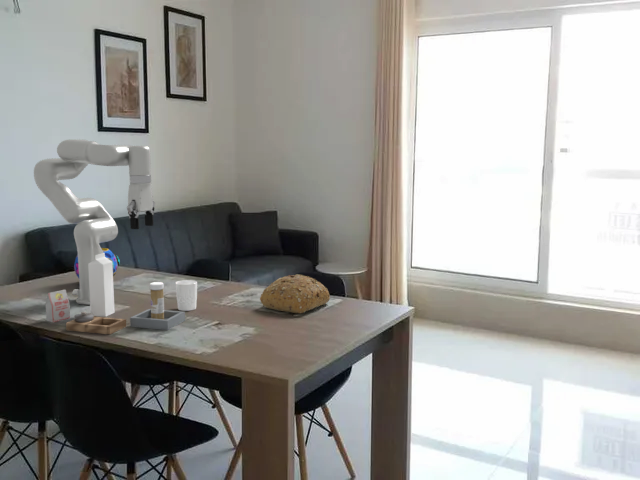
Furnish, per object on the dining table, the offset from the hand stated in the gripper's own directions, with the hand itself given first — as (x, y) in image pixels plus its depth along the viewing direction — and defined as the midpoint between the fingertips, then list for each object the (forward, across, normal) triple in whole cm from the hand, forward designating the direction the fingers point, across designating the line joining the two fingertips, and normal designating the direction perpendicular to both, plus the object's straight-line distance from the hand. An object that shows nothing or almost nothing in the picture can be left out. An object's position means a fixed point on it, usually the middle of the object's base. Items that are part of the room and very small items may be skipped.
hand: (142, 227), depth 239 cm
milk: (+31, +12, -10) cm, 34 cm away
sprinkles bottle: (+30, +17, +15) cm, 37 cm away
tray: (+30, +17, +15) cm, 38 cm away
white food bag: (+31, +22, -21) cm, 43 cm away
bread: (+31, -19, +53) cm, 64 cm away
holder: (+30, +28, -1) cm, 41 cm away
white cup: (+31, -4, +15) cm, 34 cm away
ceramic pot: (+31, -31, -42) cm, 60 cm away
